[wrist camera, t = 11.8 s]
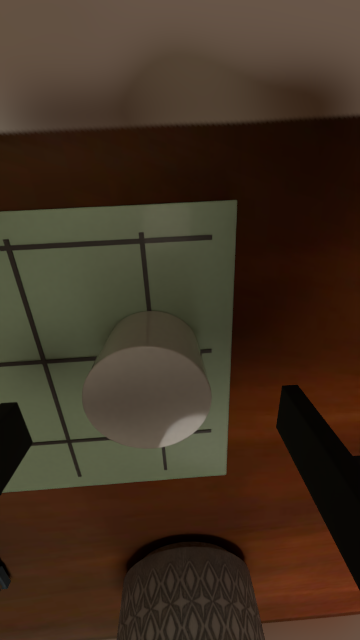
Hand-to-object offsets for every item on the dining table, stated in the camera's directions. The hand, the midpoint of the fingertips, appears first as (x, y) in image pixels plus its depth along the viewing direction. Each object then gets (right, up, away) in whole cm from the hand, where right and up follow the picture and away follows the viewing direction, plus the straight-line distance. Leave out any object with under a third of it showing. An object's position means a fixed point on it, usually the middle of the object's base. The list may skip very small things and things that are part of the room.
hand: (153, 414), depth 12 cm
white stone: (-1, +2, +5) cm, 6 cm away
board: (-13, 0, +7) cm, 15 cm away
